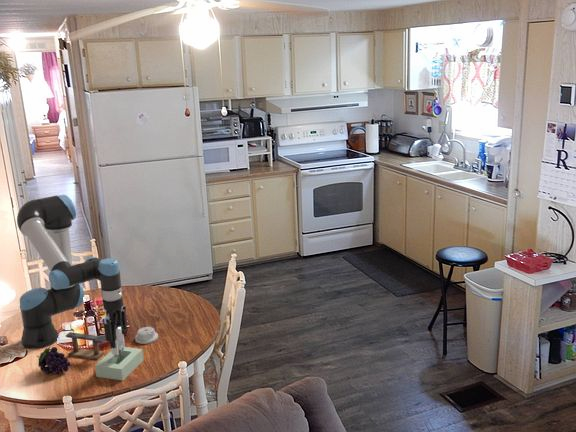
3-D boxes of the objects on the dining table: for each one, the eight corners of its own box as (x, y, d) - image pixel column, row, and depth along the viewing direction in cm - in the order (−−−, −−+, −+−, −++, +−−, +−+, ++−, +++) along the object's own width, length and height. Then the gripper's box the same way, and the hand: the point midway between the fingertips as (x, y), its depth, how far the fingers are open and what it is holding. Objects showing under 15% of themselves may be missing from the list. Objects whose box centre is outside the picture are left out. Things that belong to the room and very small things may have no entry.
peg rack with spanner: (66, 355, 239) (64, 336, 236) (74, 349, 243) (71, 331, 241) (104, 360, 234) (102, 341, 232) (111, 354, 239) (108, 335, 236)
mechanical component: (131, 343, 248) (152, 345, 246) (130, 334, 247) (151, 336, 245) (141, 333, 258) (161, 334, 256) (140, 324, 256) (160, 325, 254)
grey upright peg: (111, 356, 225) (108, 329, 222) (117, 351, 229) (114, 324, 226) (120, 357, 224) (117, 330, 221) (126, 352, 228) (123, 325, 225)
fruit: (62, 383, 224) (27, 372, 225) (76, 366, 233) (43, 355, 234) (62, 364, 219) (27, 353, 220) (77, 347, 228) (43, 337, 229)
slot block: (96, 376, 222) (94, 365, 221) (118, 356, 237) (117, 345, 236) (123, 380, 219) (121, 369, 218) (143, 359, 234) (142, 349, 233)
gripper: (108, 307, 211) (115, 363, 217) (132, 290, 227) (137, 342, 233) (91, 305, 213) (98, 360, 219) (116, 288, 229) (121, 340, 235)
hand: (118, 351), depth 226 cm, fingers closed on grey upright peg, 4 cm apart
